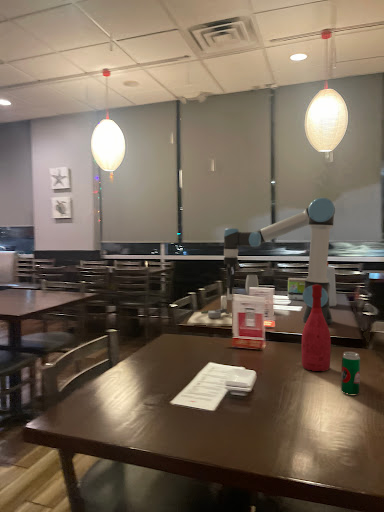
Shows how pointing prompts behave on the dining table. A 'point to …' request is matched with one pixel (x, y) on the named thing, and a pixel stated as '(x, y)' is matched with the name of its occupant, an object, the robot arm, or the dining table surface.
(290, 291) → the tea box
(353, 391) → the soda can
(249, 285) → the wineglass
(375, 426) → the dining table surface
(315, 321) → the wine bottle
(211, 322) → the dial board
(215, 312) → the grey l-shaped block
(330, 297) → the plastic bottle
